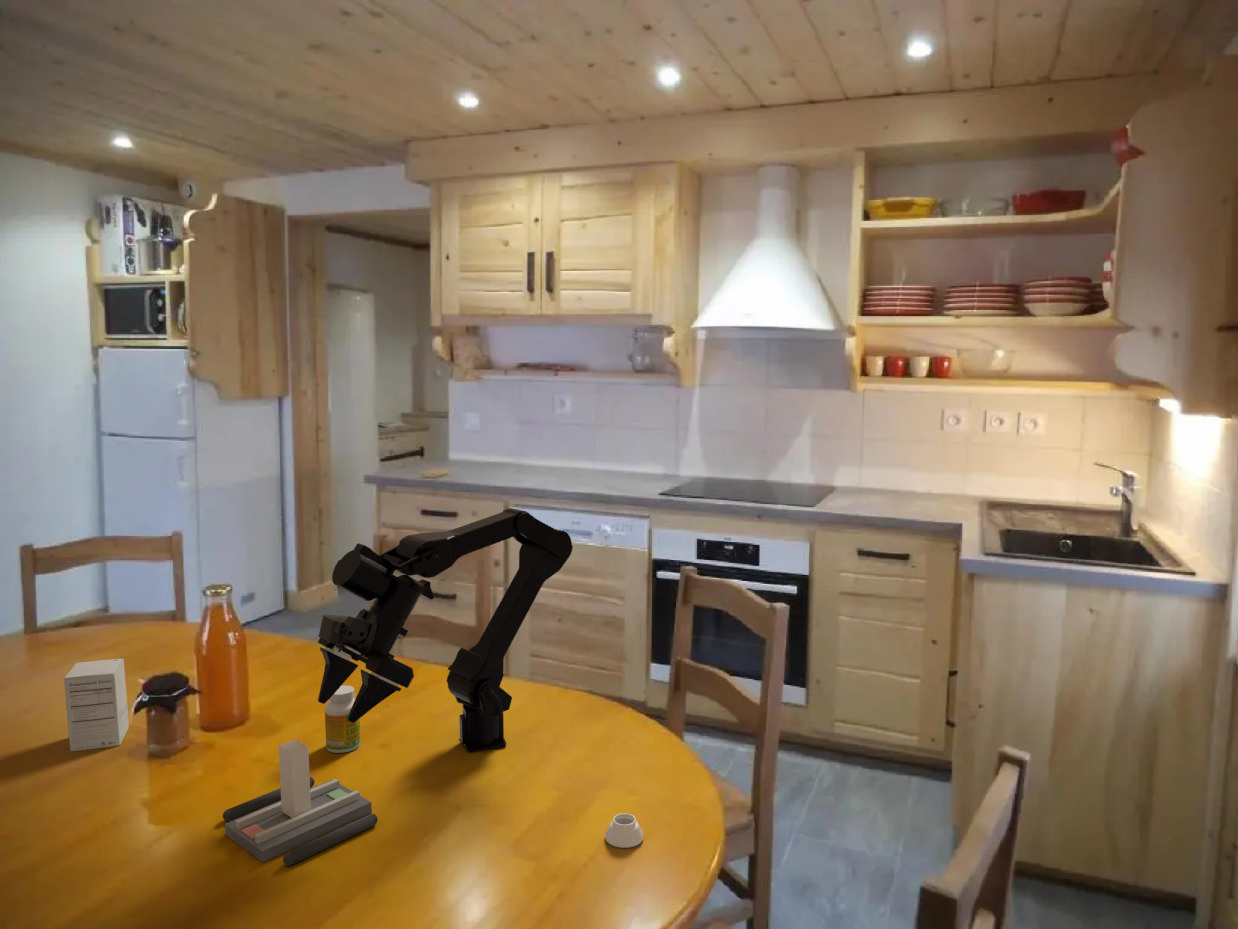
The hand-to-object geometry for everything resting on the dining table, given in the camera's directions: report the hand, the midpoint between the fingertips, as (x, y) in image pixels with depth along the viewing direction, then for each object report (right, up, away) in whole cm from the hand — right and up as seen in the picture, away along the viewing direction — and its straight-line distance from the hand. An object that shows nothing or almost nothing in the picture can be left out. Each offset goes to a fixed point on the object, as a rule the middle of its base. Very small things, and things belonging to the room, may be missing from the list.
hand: (335, 712), depth 124 cm
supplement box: (-46, -10, +19) cm, 51 cm away
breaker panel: (-3, -14, -6) cm, 15 cm away
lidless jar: (+42, -15, -9) cm, 45 cm away
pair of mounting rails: (-3, -14, -6) cm, 15 cm away
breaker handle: (-3, -12, -6) cm, 14 cm away
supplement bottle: (-4, -11, +17) cm, 21 cm away
